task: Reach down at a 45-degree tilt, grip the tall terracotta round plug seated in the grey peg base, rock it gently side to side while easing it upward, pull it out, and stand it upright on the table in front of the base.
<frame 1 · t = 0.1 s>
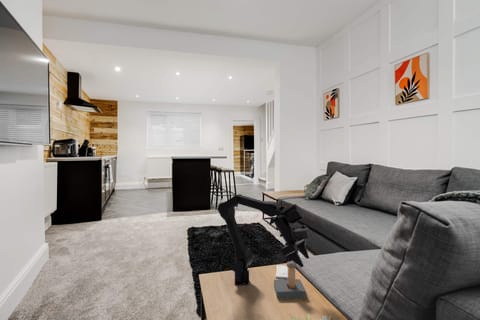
hand: (305, 262, 101), 15 cm above the table, tool tilted 35°, fingers open, 9 cm apart
plug: (291, 293, 105), resting in grey peg base
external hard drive: (284, 274, 124), on the table
grey peg base: (289, 292, 106), on the table
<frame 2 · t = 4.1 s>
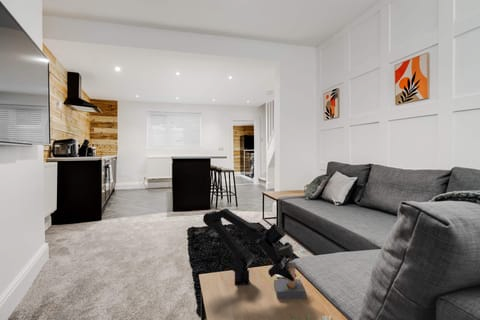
hand: (294, 278, 104), 7 cm above the table, tool tilted 45°, fingers closed on plug, 3 cm apart
plug: (291, 293, 105), resting in grey peg base, touching gripper
everything else where it was.
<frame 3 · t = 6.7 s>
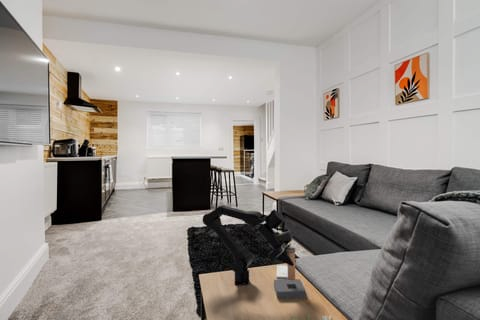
hand: (294, 263, 104), 13 cm above the table, tool tilted 45°, fingers closed on plug, 3 cm apart
plug: (291, 278, 105), point 6 cm above the table, touching gripper
everything else where it was.
when the fingers open (8 cm above the table, at t = 9.3 s): plug stays where it is, on the table.
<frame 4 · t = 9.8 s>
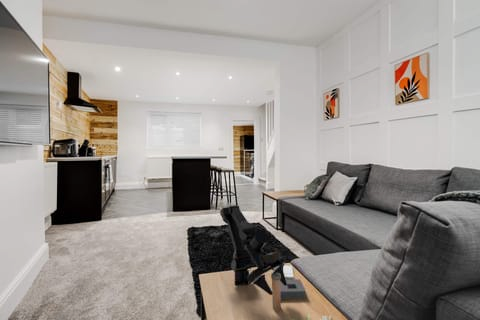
hand: (279, 289, 94), 8 cm above the table, tool tilted 45°, fingers open, 9 cm apart
plug: (276, 307, 95), on the table
everything else where it was.
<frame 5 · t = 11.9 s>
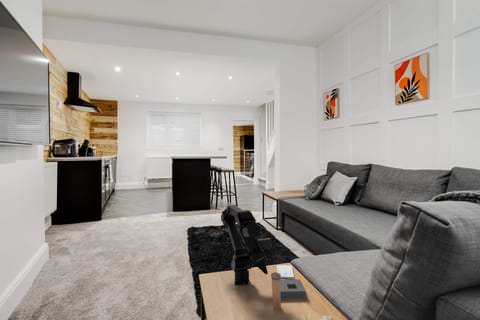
hand: (265, 271, 105), 9 cm above the table, tool tilted 30°, fingers open, 9 cm apart
nothing on the table moved.
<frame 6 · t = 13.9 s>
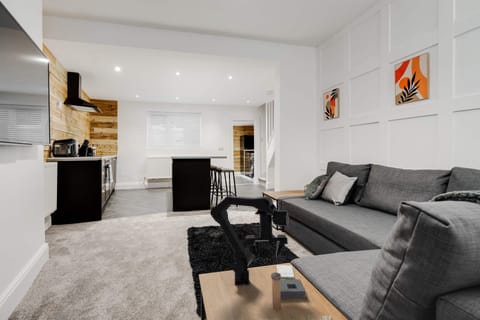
hand: (266, 258, 111), 13 cm above the table, tool pointing down, fingers open, 9 cm apart
nothing on the table moved.
at the end: plug inside the target area (0.0 cm from its centre), on the table; plug touching table; plug tilted 0° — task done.
